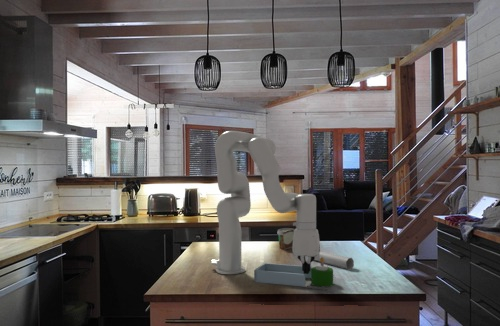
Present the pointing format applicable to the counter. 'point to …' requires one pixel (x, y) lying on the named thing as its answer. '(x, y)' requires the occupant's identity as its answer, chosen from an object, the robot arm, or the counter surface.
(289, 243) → the food container
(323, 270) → the candle
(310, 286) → the strips
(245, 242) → the counter surface
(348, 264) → the tube
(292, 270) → the pale blue tray
